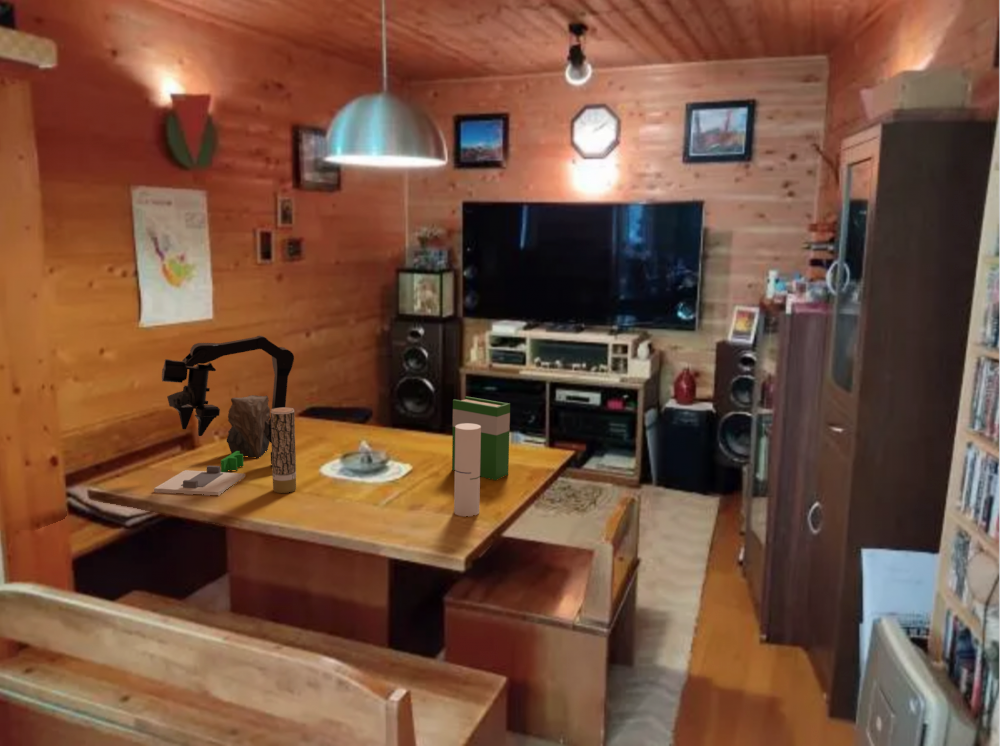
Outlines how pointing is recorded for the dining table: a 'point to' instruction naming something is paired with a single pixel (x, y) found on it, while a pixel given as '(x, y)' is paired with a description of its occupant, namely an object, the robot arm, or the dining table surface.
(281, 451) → the bark textured cylinder
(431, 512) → the dining table surface
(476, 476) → the cylindrical container
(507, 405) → the hardback book
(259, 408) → the grey brown rock block
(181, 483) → the door panel
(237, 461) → the green angled block
